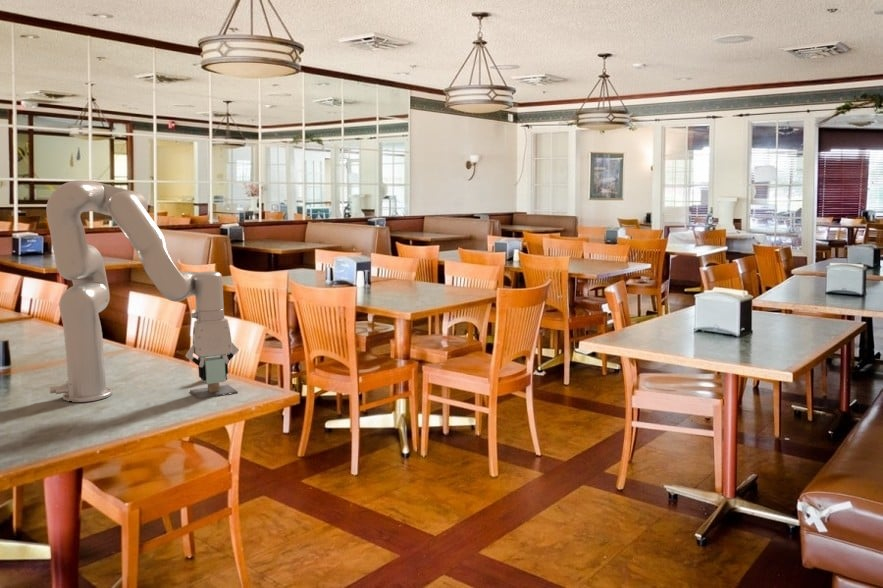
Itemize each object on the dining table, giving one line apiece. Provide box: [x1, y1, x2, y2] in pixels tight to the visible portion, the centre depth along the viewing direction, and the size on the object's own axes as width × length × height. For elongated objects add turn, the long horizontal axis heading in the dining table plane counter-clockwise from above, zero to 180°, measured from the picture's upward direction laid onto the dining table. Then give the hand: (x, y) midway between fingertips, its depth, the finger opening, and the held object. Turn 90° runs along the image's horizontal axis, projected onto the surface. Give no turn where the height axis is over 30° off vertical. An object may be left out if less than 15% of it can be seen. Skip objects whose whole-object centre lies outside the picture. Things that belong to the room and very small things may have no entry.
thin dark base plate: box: [189, 382, 239, 400], centre depth 217 cm, size 11×9×7 cm
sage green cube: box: [203, 356, 227, 385], centre depth 216 cm, size 5×5×7 cm
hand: (213, 377), depth 217 cm, fingers closed on sage green cube, 5 cm apart
